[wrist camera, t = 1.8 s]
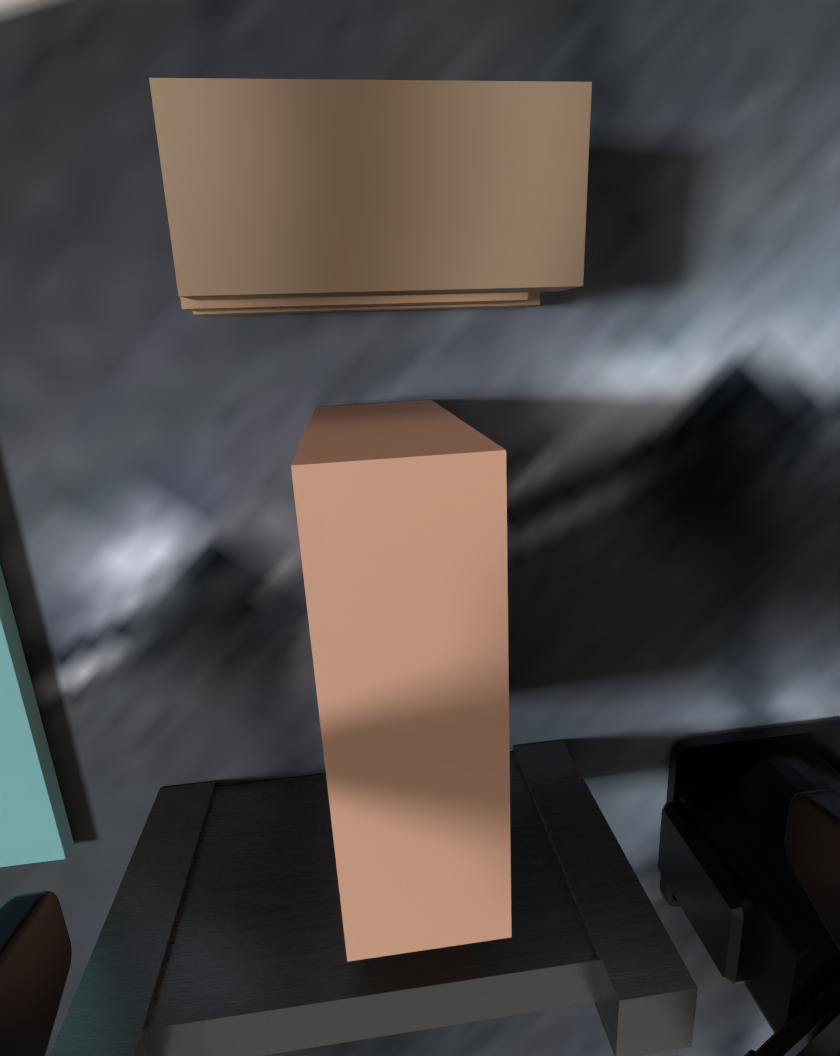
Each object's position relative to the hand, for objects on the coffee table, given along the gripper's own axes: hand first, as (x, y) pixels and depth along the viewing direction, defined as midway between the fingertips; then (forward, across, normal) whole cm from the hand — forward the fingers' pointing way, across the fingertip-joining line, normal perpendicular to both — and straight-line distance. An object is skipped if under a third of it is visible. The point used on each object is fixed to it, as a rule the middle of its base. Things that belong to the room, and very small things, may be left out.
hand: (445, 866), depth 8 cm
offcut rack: (+10, +1, +7) cm, 13 cm away
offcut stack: (+11, 0, -9) cm, 14 cm away
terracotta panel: (+10, 0, 0) cm, 11 cm away
